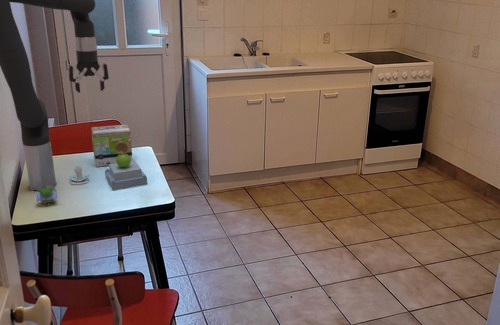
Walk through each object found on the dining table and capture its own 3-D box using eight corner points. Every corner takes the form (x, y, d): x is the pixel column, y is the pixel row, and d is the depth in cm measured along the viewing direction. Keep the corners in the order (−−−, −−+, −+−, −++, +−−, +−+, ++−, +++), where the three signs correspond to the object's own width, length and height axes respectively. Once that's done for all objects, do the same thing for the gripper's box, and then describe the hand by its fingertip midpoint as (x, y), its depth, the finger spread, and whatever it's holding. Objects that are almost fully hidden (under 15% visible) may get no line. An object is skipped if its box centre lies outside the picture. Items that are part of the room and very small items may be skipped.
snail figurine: (135, 168, 184) (132, 138, 180) (117, 170, 182) (114, 140, 178) (132, 163, 189) (130, 133, 185) (115, 165, 187) (112, 135, 183)
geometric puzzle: (57, 203, 165) (55, 180, 167) (36, 205, 163) (33, 183, 165) (59, 207, 172) (56, 185, 174) (38, 210, 169) (36, 188, 171)
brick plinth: (112, 190, 180) (111, 175, 178) (105, 177, 191) (104, 163, 189) (147, 184, 185) (146, 169, 183) (138, 172, 196) (137, 158, 194)
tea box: (96, 168, 200) (92, 133, 195) (94, 159, 209) (90, 126, 204) (133, 163, 205) (130, 130, 200) (129, 155, 214) (127, 123, 209)
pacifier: (88, 185, 185) (90, 178, 190) (86, 170, 182) (88, 163, 188) (68, 186, 184) (70, 179, 189) (65, 171, 181) (68, 164, 187)
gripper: (103, 46, 189) (107, 88, 195) (65, 48, 184) (69, 90, 189) (107, 49, 183) (110, 92, 189) (67, 51, 177) (72, 95, 183)
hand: (90, 91), depth 189 cm, fingers open, 8 cm apart
